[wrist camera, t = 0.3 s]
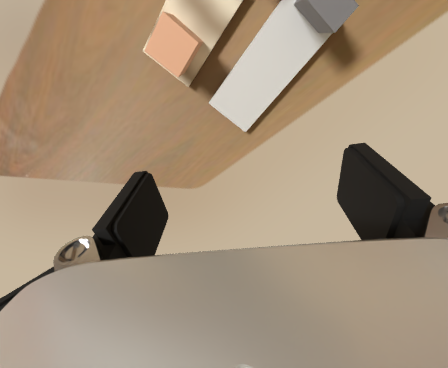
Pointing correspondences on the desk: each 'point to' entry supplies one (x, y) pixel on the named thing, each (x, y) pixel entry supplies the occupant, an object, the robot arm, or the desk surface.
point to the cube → (173, 44)
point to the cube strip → (200, 26)
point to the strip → (278, 56)
